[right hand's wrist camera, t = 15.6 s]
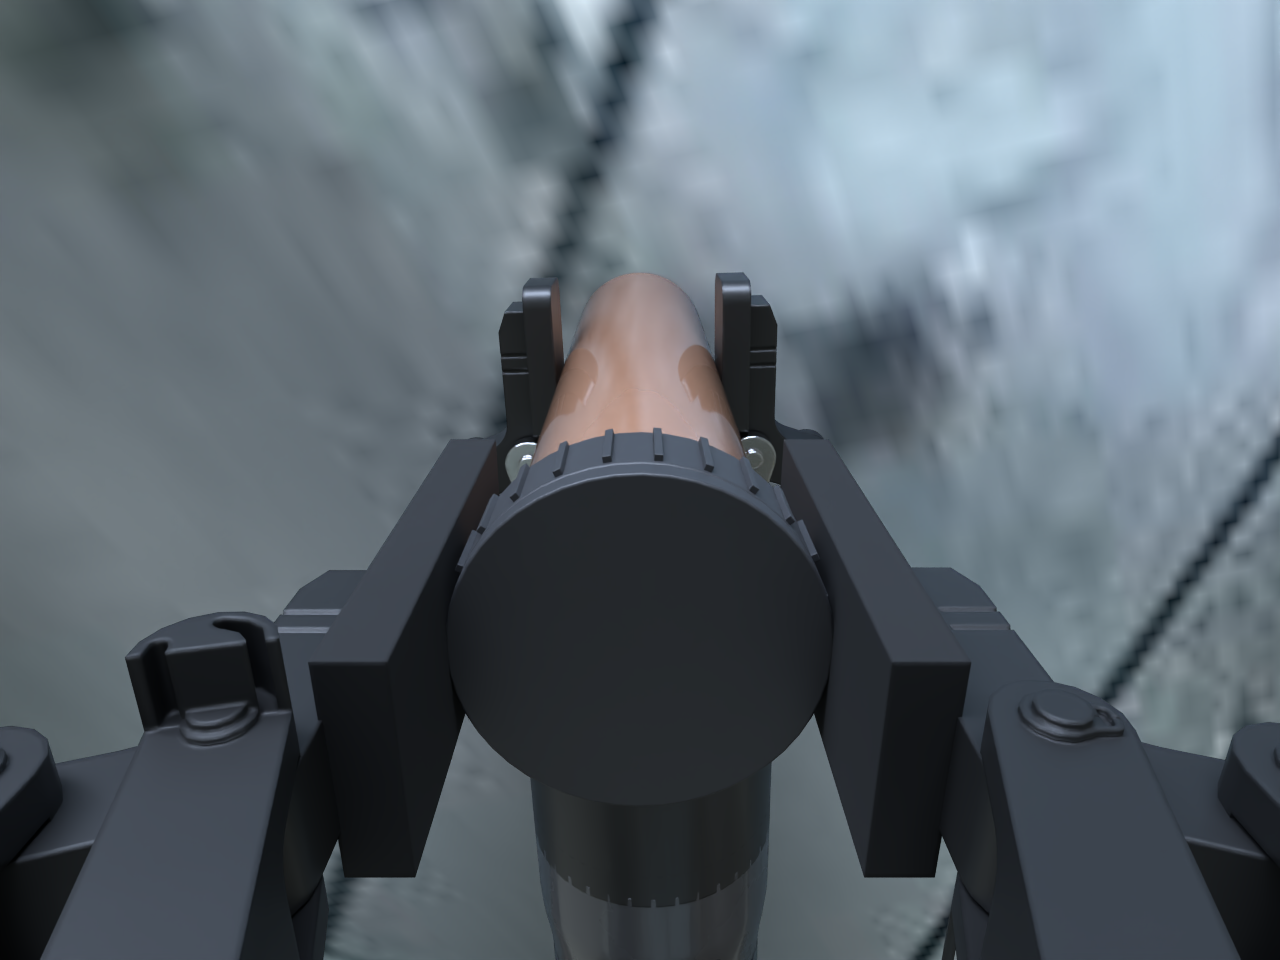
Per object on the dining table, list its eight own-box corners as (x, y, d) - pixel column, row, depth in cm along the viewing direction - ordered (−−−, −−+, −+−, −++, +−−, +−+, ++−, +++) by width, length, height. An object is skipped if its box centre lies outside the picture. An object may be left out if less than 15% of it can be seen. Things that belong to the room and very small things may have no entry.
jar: (597, 257, 27) (523, 445, 10) (717, 293, 28) (845, 533, 11) (564, 376, 29) (453, 718, 12) (680, 408, 29) (737, 786, 12)
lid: (416, 671, 12) (387, 740, 11) (537, 365, 11) (521, 400, 9) (722, 777, 13) (732, 856, 12) (880, 507, 11) (915, 560, 10)
